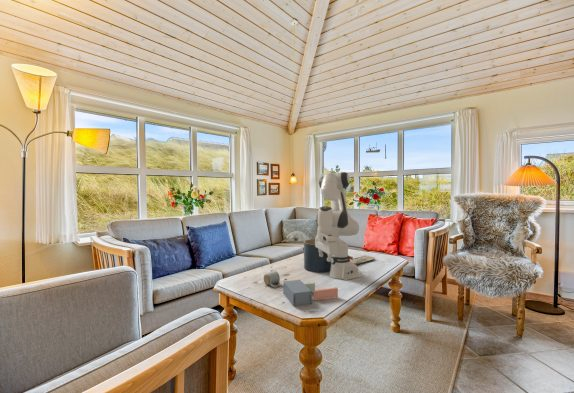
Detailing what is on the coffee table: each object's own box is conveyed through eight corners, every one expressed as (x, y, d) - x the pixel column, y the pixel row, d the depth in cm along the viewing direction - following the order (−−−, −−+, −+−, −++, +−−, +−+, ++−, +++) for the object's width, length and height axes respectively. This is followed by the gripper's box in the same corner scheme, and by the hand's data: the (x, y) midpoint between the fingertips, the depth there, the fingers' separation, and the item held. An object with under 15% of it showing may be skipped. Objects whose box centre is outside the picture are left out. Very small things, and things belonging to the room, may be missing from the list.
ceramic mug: (262, 283, 175) (262, 271, 174) (273, 281, 180) (273, 269, 179) (271, 289, 166) (272, 276, 166) (282, 286, 171) (283, 274, 171)
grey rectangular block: (300, 291, 163) (300, 279, 162) (312, 303, 146) (312, 290, 145) (283, 293, 159) (283, 281, 159) (293, 306, 142) (293, 293, 142)
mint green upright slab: (313, 290, 162) (314, 282, 162) (314, 291, 161) (314, 283, 161) (291, 293, 158) (291, 284, 158) (292, 294, 157) (292, 285, 156)
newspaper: (363, 257, 240) (363, 253, 239) (376, 260, 230) (376, 256, 230) (338, 265, 216) (338, 260, 216) (351, 268, 207) (351, 264, 207)
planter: (332, 264, 217) (332, 239, 216) (334, 273, 195) (334, 245, 194) (304, 263, 219) (304, 238, 218) (303, 272, 197) (303, 244, 196)
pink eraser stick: (336, 296, 155) (336, 287, 154) (337, 296, 153) (337, 288, 153) (313, 299, 150) (313, 290, 150) (314, 300, 149) (314, 291, 149)
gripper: (312, 231, 165) (312, 254, 167) (328, 239, 146) (328, 264, 147) (321, 231, 168) (321, 253, 169) (338, 238, 148) (338, 263, 149)
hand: (324, 258), depth 158 cm, fingers open, 8 cm apart
